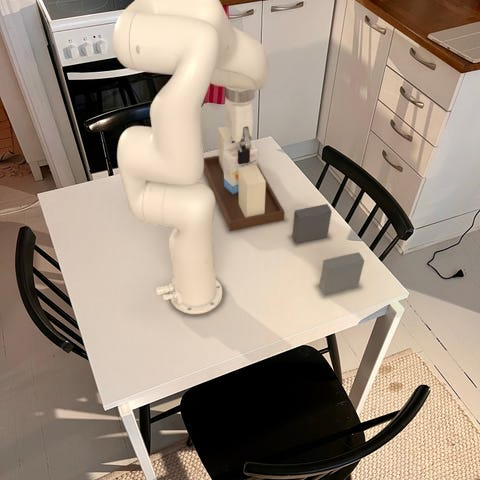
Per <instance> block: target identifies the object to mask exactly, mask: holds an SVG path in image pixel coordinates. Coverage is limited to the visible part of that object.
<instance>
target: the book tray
mask: <svg viewBox="0 0 480 480" xmlns="http://www.w3.org/2000/svg"><path fill="white" fill-rule="evenodd" d="M257 167H258V168H259V170H260V172H261V174H262V175H263V177H264V179H265V181H266V189H265V212H264V214H261V215H256V216H251V217H246V218H245V216H244V214H243V212H242V210H241V208H240V206H239V192H238V193H235V194H232V193H231V192H230V191H229V190H227V189H226V188H225V187H224V172H223V170H222V168H221V166H220V164H219V155H213V156H208V157H207V156H206V157H204V170H203V174H204V175H205V178H206V181H207V182H208V184H209V186H210V187H209V188H210V189H211V190H212V191H213V193H214V196H215V201H216V203H217V206H218V207H219V209H220V212H221V214H222V217H223V219H224V221H225V223H226V225H227V228H228V231H229V232H231V231H237V230H242V229H247V228H252V227H256V226H262V225H267V224H272V223H277V222H281V221H284V220H285V210H284V209H283V207H282V204H281V203H280V201H279V200H278V198H277V196H276V194H275V193H274V190H273V189H272V187H271V185H270V184H269V182H268V180H267V178H266V177H265V175H264V172H263V171H262V169H261V168H260V165H259V164H258V163H257Z"/></svg>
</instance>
